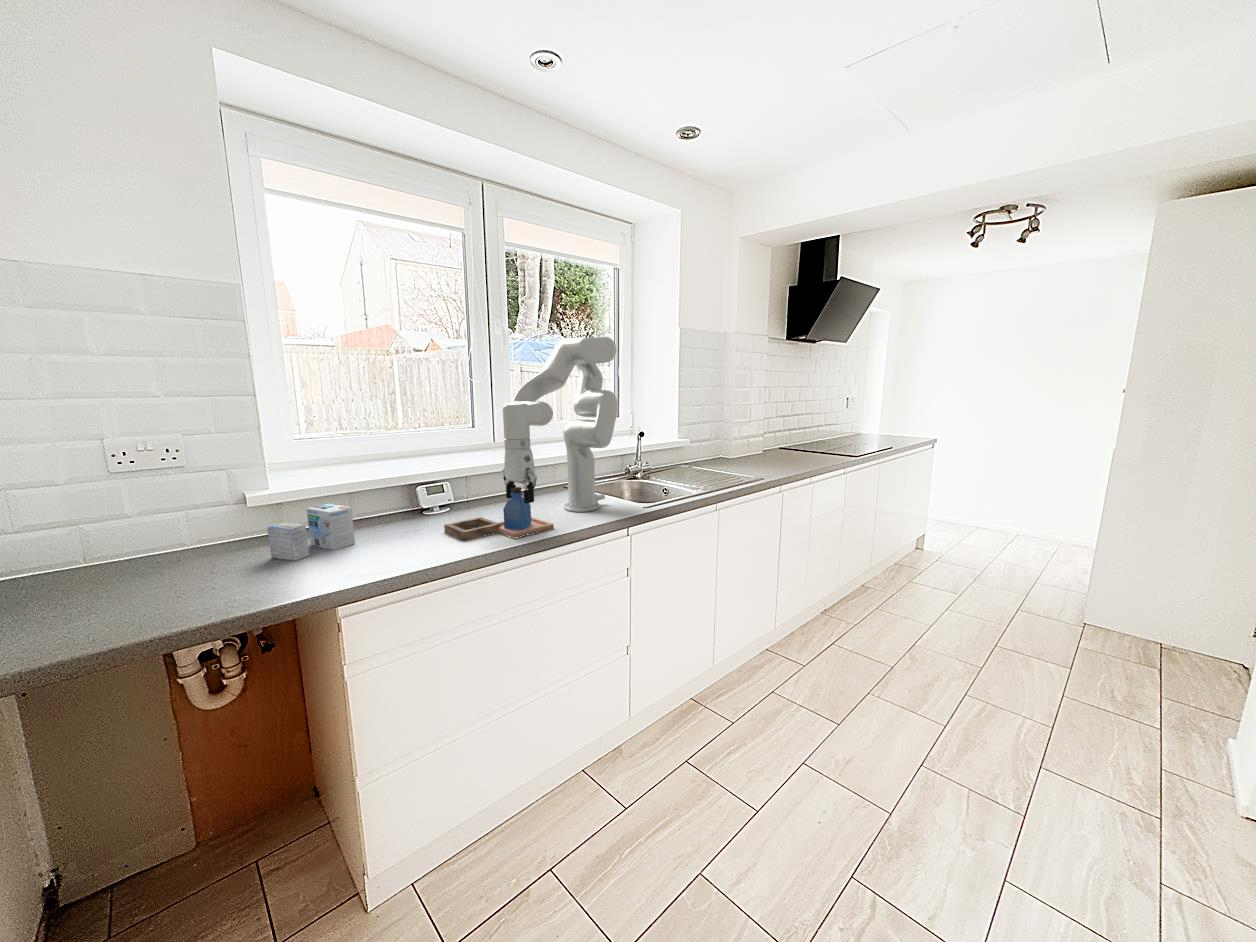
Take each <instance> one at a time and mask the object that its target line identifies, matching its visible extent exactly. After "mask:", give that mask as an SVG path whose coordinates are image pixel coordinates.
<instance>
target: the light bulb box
mask: <svg viewBox="0 0 1256 942" xmlns="http://www.w3.org/2000/svg"><path fill="white" fill-rule="evenodd" d="M306 514H307V521H308V531H309V539H310V540H309V541H310V545H311V546H314V545H315V546H314V547H317V548H318V547H319V548H322V549H326V550H329V549H330V550H331V551H336V550H339V549H343V548H346V547H349V545H350V546H353V545H355V544H356V541H355V540H356V539H355V529H354V521H353V520H354V519H353V509H352V507H351V506H346V505H340V504H332V503H326V504H321V505H316V506H311V507H306ZM352 544H353V545H352ZM345 546H346V547H345ZM342 547H343V548H342ZM338 548H339V549H338ZM335 549H336V550H335Z"/></svg>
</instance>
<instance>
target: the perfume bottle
mask: <svg viewBox="0 0 1256 942" xmlns="http://www.w3.org/2000/svg"><path fill="white" fill-rule="evenodd" d="M511 491H512V492H511V496H512V498H509V499H508V500H507V501H506V503H505V505H504V507H503V521H504V528H505V529H517V530H524V529H526V528H527V527H528V526H530V525H531V517H532V512H531V503H527V504H526V503H524V497H522V496H523V491H522V487H519V486H518V487H517V486H516V487H514V488H511Z"/></svg>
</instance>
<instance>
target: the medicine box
mask: <svg viewBox="0 0 1256 942" xmlns="http://www.w3.org/2000/svg"><path fill="white" fill-rule="evenodd" d="M267 534H268V541H269V548H270V550H269V551H270V556H271V559H272V558H277V559H276V560H283V559H285V561H293V562H294V561H295V562H296V561H299V560H301V558H302V559H305V558H307V557H309V556H310V549H309V542H308V536H307V534H308V533H307V528H306V524H302V523H293V522H292V523H291V522H290V523H289V522H280V523H275V524H273V525H270V526H267ZM306 556H307V557H306Z"/></svg>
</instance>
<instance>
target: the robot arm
mask: <svg viewBox="0 0 1256 942" xmlns="http://www.w3.org/2000/svg"><path fill="white" fill-rule="evenodd" d="M616 354H617V346H616V342H615V341H614V340H613V338H612V337H609V336H600V337H572V338H571V337H570V338H563V339H560V340H559V341H558V342H557V343H556V344H555V346H554V348H553V349H552V351H551V353H550V355H549V357H548V359H547V360H546V362H545V364H544V365H543V367H542V369H541V371H540V372H538V373H537V374H536V375H534V376H533V377H531V378H530V379H529V380H528V381H527V382H525V383H524V384H523V385H522V386H521V387H519V389H518V390H517V392H516V393H515V395H514V397H513V399H512V400H511V402H506V403H504V404H503V406H502V420H503V421H502V422H503V423H502V425H503V439H504V441H503V442H504V468H503V469H502V470H501V473H502V476H503V480H504V485H505V492H506V493H505V495H506V499H508V500H509V499H511V498H512V496H511V492H512V491H511V488H514V487H517V486H516V484H515V483H518V484H522V486H523V488H524V490H523V498H524V503H526V504H527V503H530V504H532V503H534V502H535V490H536V489H535V488H536V485H537V480H538V476H537V475H536V472H535V471H536V470H535V462H534V455H533V452H532V449H531V434H530V433H531V432H530V429H531V428H530V426H532V427H541V426H542V427H544V426H546V425H548V424H549V423H550V422H551V421H552V419H553V417H554V411H553V409H552V406H551V405H550V404H549V403H547V402H545V401H540V400H539V399H540V398H542V397H544V396H545V395H548V394H551V393H553V392H556V391H557V390H560V389H561V388H563V387H564V386H565V385H566V384H567V381H568V379H569V377H570V376H571V373H572V372H573V370H574V368H575V366H576V368H577V370H578V382H577V387H576V392H575V398H574V401H573V411H574V413H575V414H576V415H577V416H578V417H579V416H580V417H583V418H595V419H579V418H578V419H572V420H570V421H568V422H567V423H566V424H565V425H564V428H563V439H564V443H565V448H566V456H567V457H566V458H567V461H566V463H567V489H568V492H567V493H568V494H567V495H568V497H567V498H568V503H565V504H564V510H566V511H568V512H573V513H574V512H575V513H576V512H577V513H583V512H591V511H592V512H593V511H596V510H598V509H599V508H600V506H601V504H600V503H598V502H599V501H600V500H601V501H602V500H605V499H606V495H605V494H604V493H601V494H597V493H596V477H595V474H596V472H595V470H596V469H595V457H594V454H593V451H592V450H591V448H593V449H604V448H606V447H608V446H609V445H610V443H611V441H612V439H613V435H614V430H615V429H614V428H615V424H616V419H617V414H618V406H619V405H618V398H617V396H616V394H615V393H614V392H612V391H611V390H607V389H603V383H604V379H603V374H602V372H601V370H600V368H599V366H598V365H597V364H605V363H610V362H611V361H613V360H614V358H615V357H616Z"/></svg>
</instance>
